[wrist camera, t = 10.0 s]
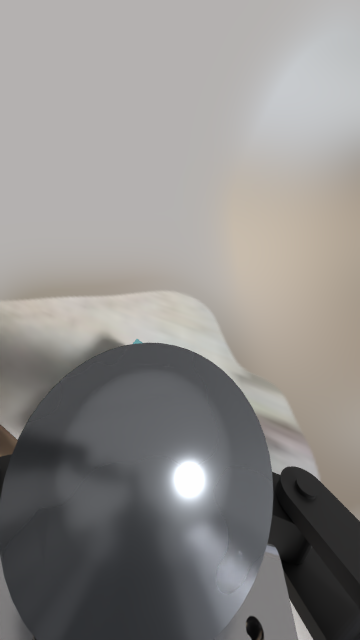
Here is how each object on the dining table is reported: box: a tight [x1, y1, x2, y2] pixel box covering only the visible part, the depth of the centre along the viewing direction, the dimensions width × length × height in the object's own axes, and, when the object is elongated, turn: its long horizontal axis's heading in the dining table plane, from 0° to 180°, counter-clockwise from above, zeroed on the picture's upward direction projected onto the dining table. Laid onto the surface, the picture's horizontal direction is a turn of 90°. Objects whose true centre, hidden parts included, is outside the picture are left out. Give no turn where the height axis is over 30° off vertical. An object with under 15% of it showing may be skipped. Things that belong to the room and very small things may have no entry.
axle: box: [0, 343, 273, 640], centre depth 9 cm, size 4×4×12 cm
